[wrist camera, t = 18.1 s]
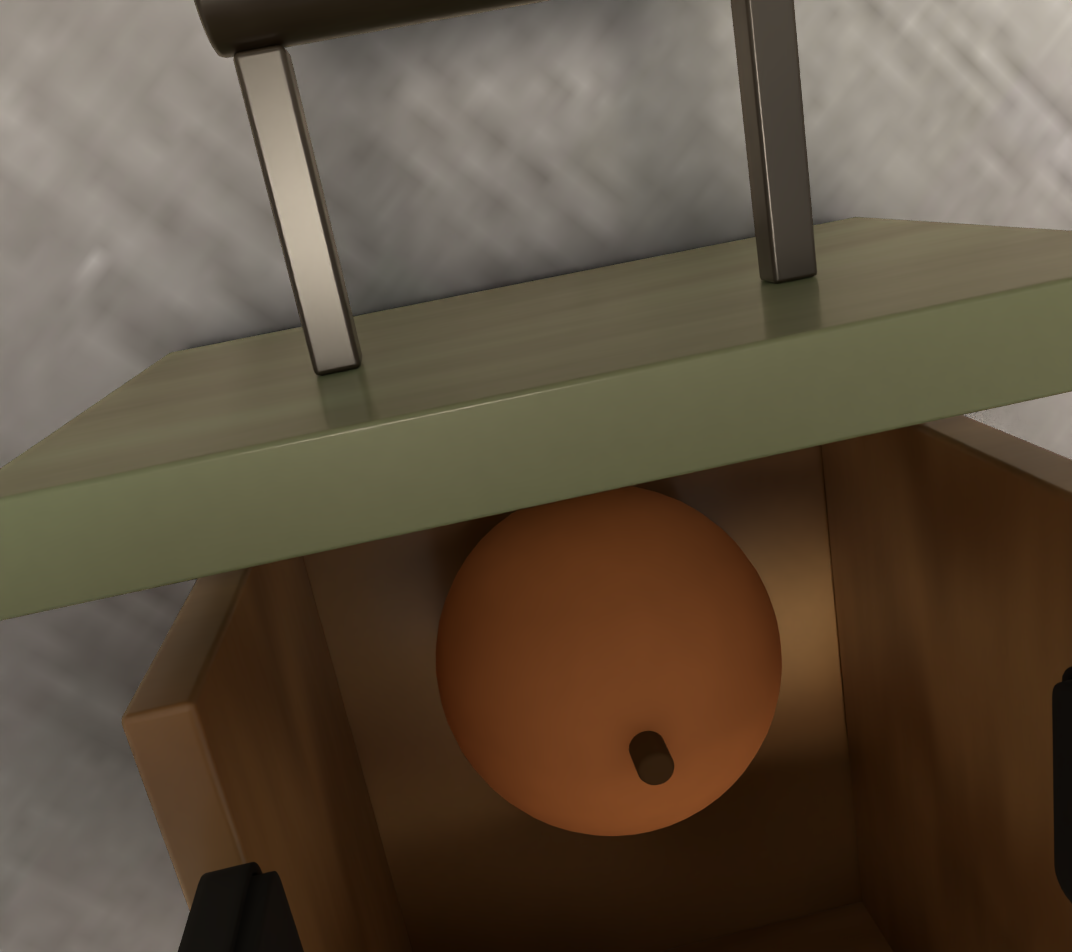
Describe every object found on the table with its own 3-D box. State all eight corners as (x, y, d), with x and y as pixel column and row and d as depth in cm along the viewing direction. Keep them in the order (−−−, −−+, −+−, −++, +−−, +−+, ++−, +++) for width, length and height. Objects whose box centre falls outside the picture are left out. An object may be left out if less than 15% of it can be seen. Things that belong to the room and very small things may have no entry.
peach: (560, 768, 19) (625, 1014, 13) (369, 583, 18) (349, 772, 12) (773, 592, 19) (937, 769, 13) (597, 385, 17) (694, 481, 11)
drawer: (73, 44, 16) (-327, -127, 7) (835, -90, 16) (1284, -384, 8) (367, 1009, 22) (340, 1523, 14) (905, 877, 23) (1195, 1280, 14)
